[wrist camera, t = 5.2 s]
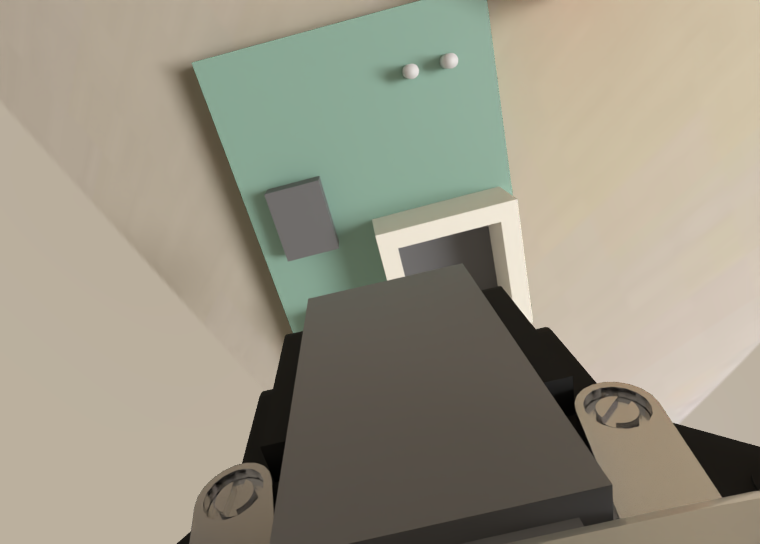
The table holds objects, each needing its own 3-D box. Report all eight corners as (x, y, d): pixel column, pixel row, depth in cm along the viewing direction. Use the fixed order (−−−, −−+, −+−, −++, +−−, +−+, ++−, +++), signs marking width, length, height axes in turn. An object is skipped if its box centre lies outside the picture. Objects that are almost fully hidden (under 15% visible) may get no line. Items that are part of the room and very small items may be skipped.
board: (199, 63, 24) (166, 60, 20) (476, -13, 24) (509, -33, 19) (312, 368, 32) (307, 417, 28) (521, 315, 32) (552, 356, 27)
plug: (308, 298, 12) (261, 598, 5) (462, 263, 12) (633, 515, 5) (346, 421, 13) (350, 781, 6) (482, 391, 13) (634, 719, 6)
